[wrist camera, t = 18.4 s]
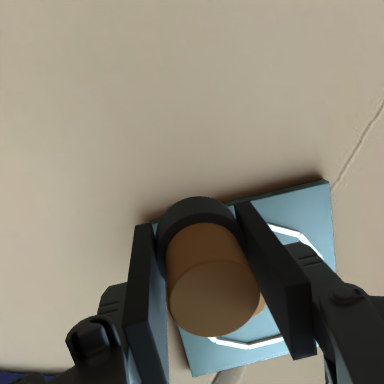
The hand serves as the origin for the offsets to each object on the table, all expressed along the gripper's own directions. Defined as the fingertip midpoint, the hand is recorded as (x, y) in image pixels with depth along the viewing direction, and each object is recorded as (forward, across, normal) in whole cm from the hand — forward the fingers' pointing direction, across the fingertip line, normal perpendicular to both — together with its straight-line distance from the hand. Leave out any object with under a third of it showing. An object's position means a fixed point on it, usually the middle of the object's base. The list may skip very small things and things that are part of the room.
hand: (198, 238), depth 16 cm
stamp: (0, 0, 0) cm, 0 cm away
